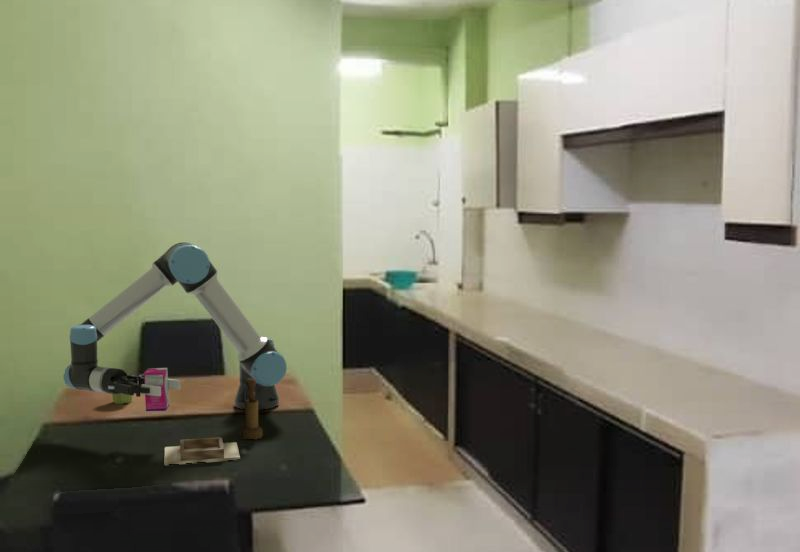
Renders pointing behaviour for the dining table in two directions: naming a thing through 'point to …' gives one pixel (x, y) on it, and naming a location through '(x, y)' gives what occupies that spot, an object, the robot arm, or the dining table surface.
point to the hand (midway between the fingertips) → (169, 388)
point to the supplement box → (157, 379)
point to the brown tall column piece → (251, 414)
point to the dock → (201, 451)
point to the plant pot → (121, 398)
